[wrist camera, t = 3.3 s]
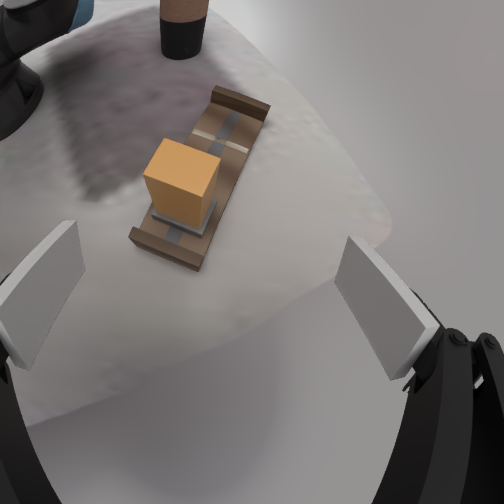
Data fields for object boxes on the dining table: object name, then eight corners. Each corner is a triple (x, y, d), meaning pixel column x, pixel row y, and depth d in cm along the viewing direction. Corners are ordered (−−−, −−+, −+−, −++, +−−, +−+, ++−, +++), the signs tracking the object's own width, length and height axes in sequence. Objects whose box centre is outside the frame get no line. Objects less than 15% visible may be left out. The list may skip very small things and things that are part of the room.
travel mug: (152, 56, 36) (151, -37, 16) (172, 36, 37) (179, -48, 18) (190, 64, 37) (202, -35, 17) (208, 43, 38) (225, -44, 19)
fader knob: (201, 238, 29) (206, 204, 19) (152, 218, 29) (134, 176, 19) (216, 203, 31) (228, 157, 20) (169, 184, 30) (161, 132, 20)
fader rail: (198, 272, 31) (198, 266, 27) (136, 246, 30) (128, 236, 26) (262, 124, 37) (270, 105, 32) (212, 105, 36) (215, 85, 31)
